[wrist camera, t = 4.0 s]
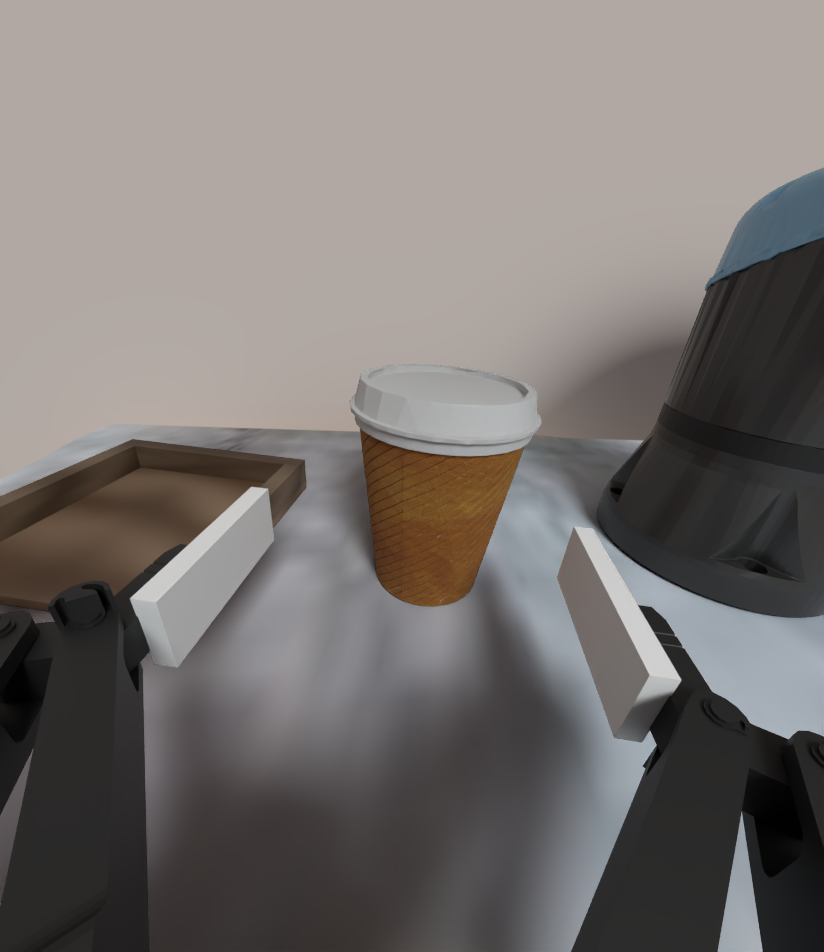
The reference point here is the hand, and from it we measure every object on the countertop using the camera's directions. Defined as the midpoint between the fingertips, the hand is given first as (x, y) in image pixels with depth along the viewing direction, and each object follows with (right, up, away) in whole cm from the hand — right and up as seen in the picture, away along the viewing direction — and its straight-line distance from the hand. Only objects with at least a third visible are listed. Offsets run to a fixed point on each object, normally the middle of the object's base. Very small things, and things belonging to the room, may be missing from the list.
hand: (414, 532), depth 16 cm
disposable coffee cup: (+1, -4, +8) cm, 8 cm away
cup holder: (-18, -1, +9) cm, 20 cm away
